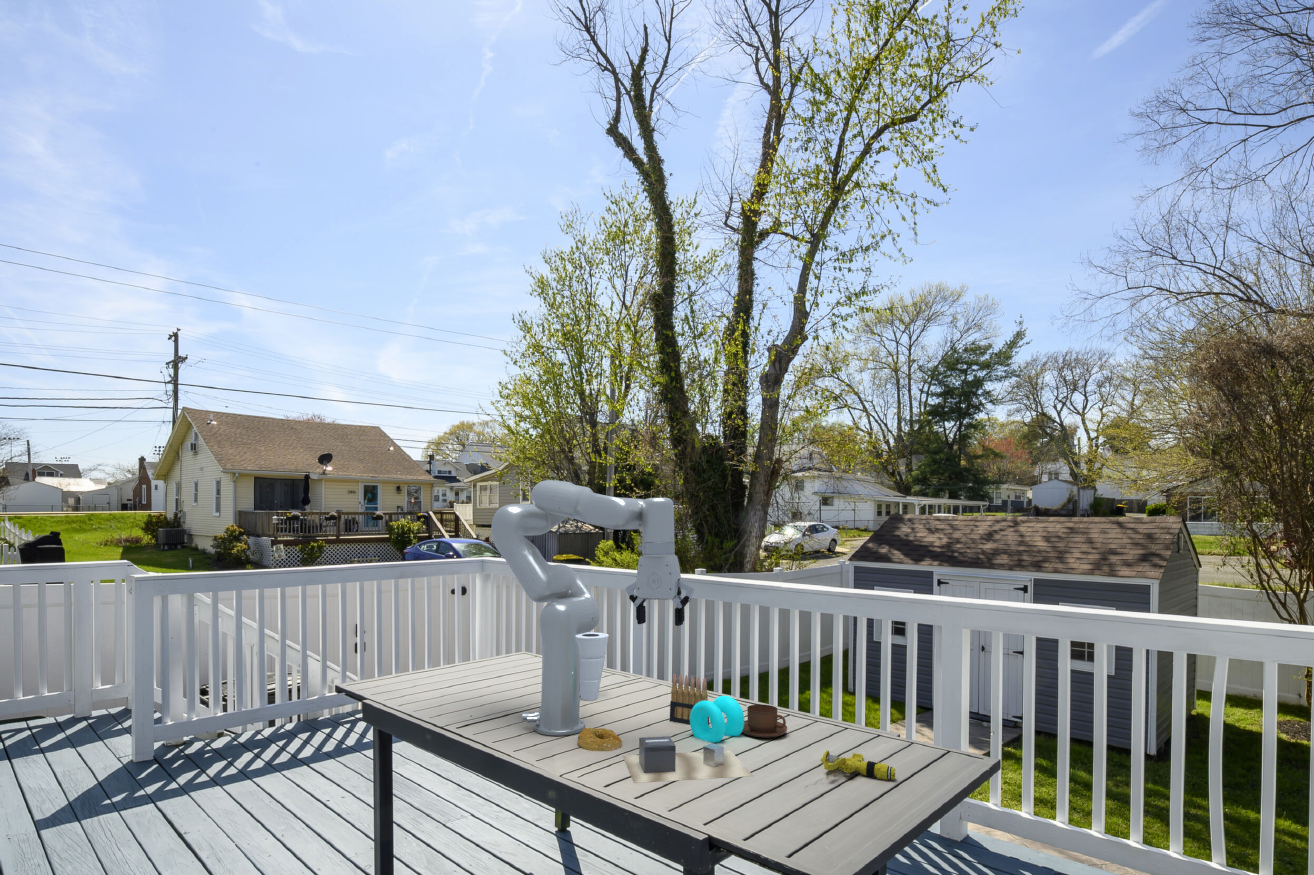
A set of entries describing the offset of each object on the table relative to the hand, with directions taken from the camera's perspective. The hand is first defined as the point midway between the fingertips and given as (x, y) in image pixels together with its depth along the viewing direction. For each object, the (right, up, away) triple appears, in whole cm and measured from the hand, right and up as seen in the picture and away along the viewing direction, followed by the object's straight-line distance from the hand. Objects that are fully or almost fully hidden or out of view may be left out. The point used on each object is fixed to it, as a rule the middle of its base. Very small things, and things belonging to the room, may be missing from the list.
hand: (660, 624), depth 165 cm
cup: (-20, -33, +41) cm, 56 cm away
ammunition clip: (+8, -30, +17) cm, 35 cm away
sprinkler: (+41, -27, -17) cm, 52 cm away
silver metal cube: (+11, -24, -18) cm, 32 cm away
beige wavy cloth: (+5, -26, -19) cm, 32 cm away
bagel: (-14, -28, -6) cm, 31 cm away
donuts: (+13, -28, +2) cm, 31 cm away
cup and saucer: (+25, -30, +9) cm, 40 cm away
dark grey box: (-1, -24, -20) cm, 31 cm away
